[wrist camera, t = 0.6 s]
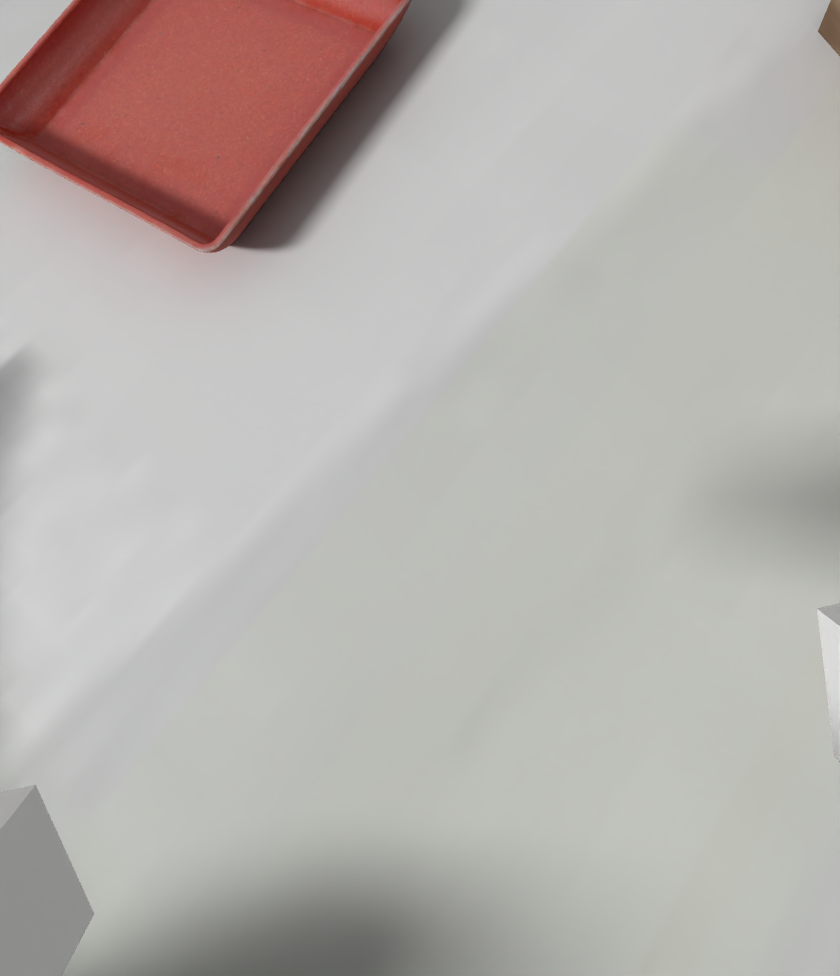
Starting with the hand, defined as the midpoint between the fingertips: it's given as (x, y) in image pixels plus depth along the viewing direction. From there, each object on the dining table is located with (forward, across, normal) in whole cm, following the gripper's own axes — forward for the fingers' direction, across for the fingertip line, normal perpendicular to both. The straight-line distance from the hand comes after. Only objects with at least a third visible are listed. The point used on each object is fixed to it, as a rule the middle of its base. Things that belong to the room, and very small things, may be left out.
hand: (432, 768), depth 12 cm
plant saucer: (+34, +7, -21) cm, 41 cm away
